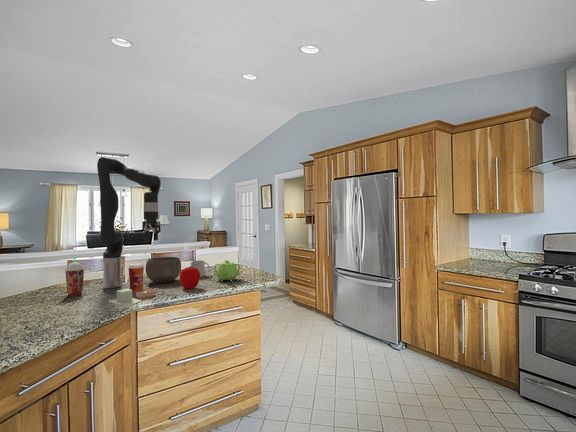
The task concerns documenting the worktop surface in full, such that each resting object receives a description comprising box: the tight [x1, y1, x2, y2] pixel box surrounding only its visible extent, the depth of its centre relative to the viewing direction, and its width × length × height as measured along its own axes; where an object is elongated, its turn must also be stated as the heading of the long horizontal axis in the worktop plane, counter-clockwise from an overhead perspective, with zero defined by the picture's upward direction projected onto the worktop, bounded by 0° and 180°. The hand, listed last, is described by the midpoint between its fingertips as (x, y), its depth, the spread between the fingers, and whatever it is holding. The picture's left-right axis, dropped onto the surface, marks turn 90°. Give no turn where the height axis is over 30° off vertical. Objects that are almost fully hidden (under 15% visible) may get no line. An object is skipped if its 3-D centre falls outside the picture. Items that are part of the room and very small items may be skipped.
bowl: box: [145, 256, 182, 283], centre depth 196 cm, size 21×21×15 cm
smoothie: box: [64, 256, 85, 297], centre depth 166 cm, size 8×8×20 cm
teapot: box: [213, 259, 242, 282], centre depth 199 cm, size 16×14×13 cm
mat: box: [108, 297, 142, 307], centre depth 155 cm, size 17×26×1 cm, turn 144°
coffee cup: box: [127, 262, 145, 293], centre depth 171 cm, size 8×8×15 cm
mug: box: [190, 260, 210, 278], centre depth 213 cm, size 11×10×10 cm
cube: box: [116, 288, 133, 303], centre depth 151 cm, size 5×5×5 cm
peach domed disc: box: [135, 288, 156, 300], centre depth 160 cm, size 9×9×2 cm
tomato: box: [179, 265, 201, 290], centre depth 177 cm, size 11×11×13 cm
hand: (151, 240), depth 173 cm, fingers open, 8 cm apart
